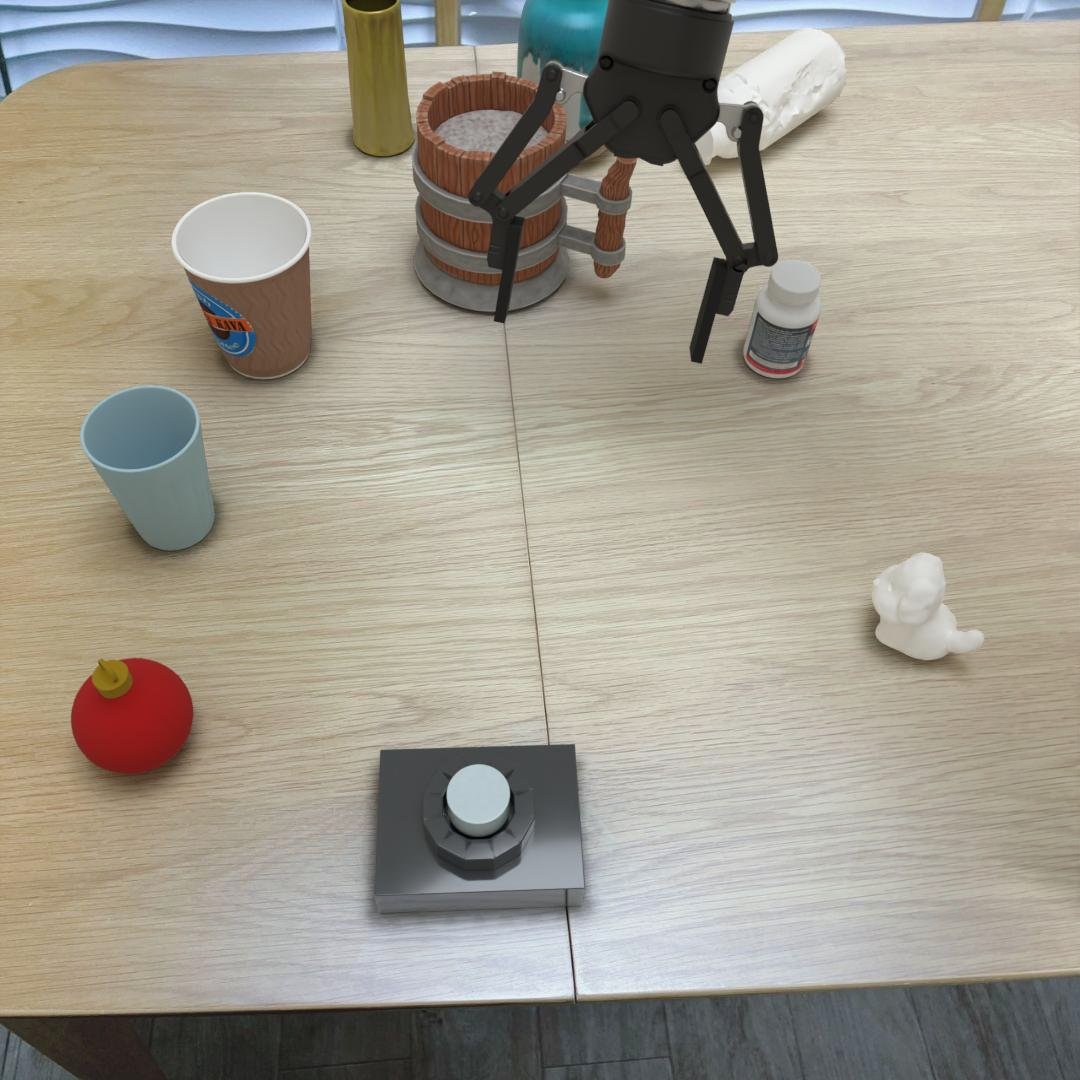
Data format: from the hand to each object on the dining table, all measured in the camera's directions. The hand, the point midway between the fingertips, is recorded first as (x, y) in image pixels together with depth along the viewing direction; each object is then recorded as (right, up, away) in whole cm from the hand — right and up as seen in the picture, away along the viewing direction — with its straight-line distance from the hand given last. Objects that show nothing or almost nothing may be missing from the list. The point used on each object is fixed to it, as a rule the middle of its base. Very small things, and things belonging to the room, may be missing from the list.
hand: (598, 336), depth 75 cm
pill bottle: (+16, +1, +18) cm, 24 cm away
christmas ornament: (-29, -27, -4) cm, 40 cm away
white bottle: (+19, +27, +36) cm, 49 cm away
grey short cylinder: (-8, -29, -11) cm, 32 cm away
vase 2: (-1, +25, +35) cm, 43 cm away
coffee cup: (-27, +2, +17) cm, 31 cm away
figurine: (+22, -21, +2) cm, 30 cm away
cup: (-31, -13, +6) cm, 34 cm away
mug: (-6, +10, +23) cm, 26 cm away
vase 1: (-20, +26, +34) cm, 47 cm away
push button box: (-8, -32, -8) cm, 34 cm away
